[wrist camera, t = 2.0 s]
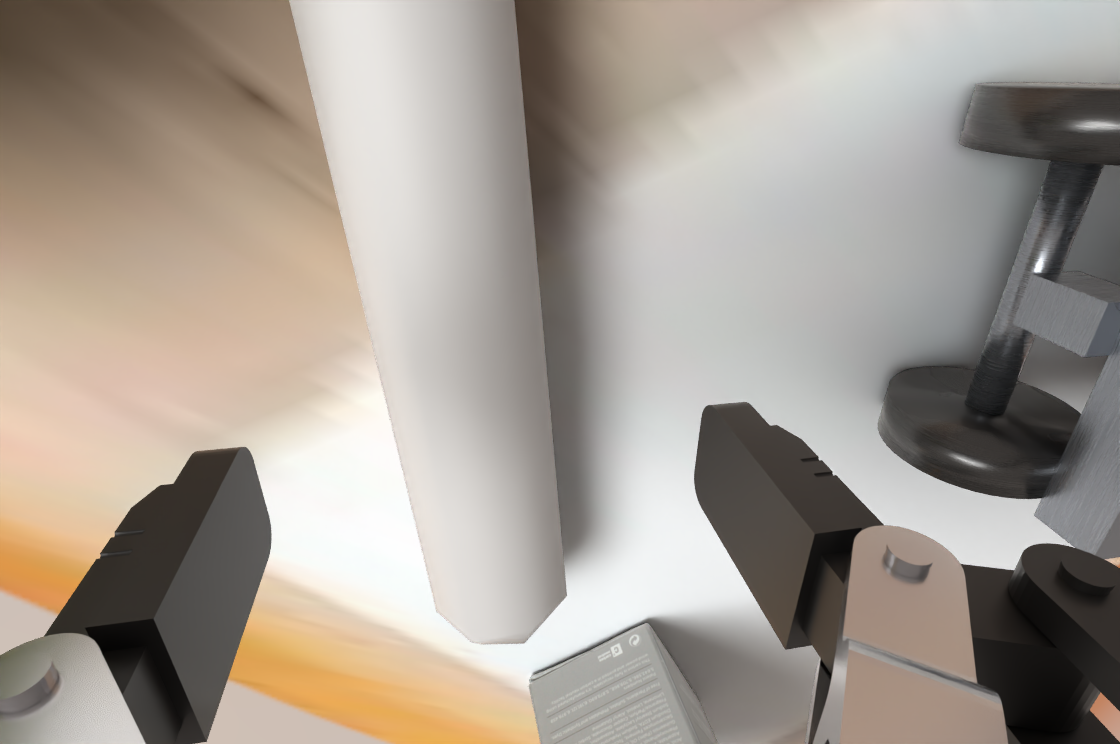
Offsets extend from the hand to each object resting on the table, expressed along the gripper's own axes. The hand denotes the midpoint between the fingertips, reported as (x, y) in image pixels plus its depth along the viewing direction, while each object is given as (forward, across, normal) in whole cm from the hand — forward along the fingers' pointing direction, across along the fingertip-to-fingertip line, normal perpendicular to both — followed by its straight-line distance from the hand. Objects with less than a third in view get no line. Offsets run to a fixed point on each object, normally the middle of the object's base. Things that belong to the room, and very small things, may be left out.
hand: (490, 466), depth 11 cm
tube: (+10, 0, 0) cm, 10 cm away
